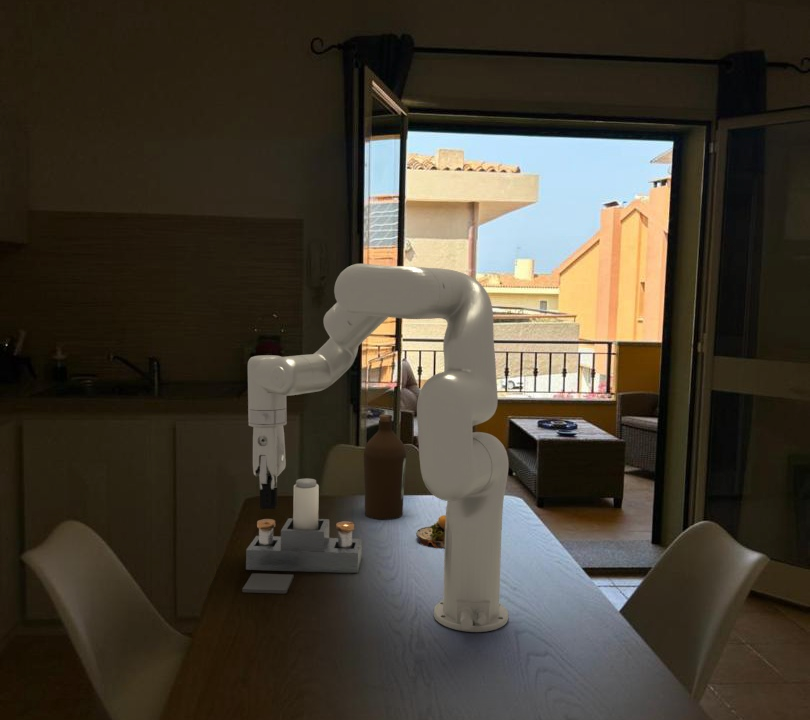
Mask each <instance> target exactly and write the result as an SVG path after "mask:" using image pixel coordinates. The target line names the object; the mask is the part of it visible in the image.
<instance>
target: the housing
mask: <svg viewBox="0 0 810 720" xmlns="http://www.w3.org/2000/svg"><path fill="white" fill-rule="evenodd" d="M362 541H363V539H362V538H352V549H342V548H338V537H330V519H328V518H318V530H299V529H293V517H292V518H287V520H286V522H285V523H284V525H283V526H282V528H281V530H280V536H278V535H277V536H275V535H273V546H259V535H255V537H254V538H253V540H252V541H251V542H250V544H249V545H248V546H247V547H246V549H245V556H246V557H245V558H246V559H245V570H247V571H272V572H274V571H275V572H276V571H279V572H305V573H306V572H308V573H309V572H311V573H340V574H341V573H343V574H344V573H345V574H348V573H349V574H359V568H360V565H361V561H362V550H363V549H362V547H363V545H362V544H363V543H362Z"/></svg>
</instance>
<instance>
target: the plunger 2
mask: <svg viewBox="0 0 810 720" xmlns="http://www.w3.org/2000/svg"><path fill="white" fill-rule="evenodd" d="M335 530H336V531H337V538H338V548H342V549H352V539H353V531H354V530H355V522H353V521H347V520H344V521H339V522H337V523H336V529H335Z"/></svg>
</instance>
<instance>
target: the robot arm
mask: <svg viewBox="0 0 810 720" xmlns="http://www.w3.org/2000/svg"><path fill="white" fill-rule="evenodd" d="M333 288H334V289H333V293H334V299H335V300H336V303H335V304H333V306H332V307H330V309H329V310H328V311H326V312H325V314H324V316H323V328H324V330H325V331H326V333H327V335H328V336H329V339H327V340H326V342H325V343H323V345H322V346H321V347H320V348H319V349H318V350H316V351H315V352H314V353H313V354H312V353H311V354H300V355H289V356H280V355H272V354H271V355H269V354H266V355H254V356H251V357H250V358H249V359H248V361H247V400H248V401H247V406H248V408H247V411H248V414H247V417H248V426H249V427H252V428H253V429H252V433H253V434H252V471H253V472H252V473H253V475H254V476H255V477H259V479H258V480H259V508H260V509H261V510H275V509H277V508H278V476H280V474H282V472H283V471H284V470H285V469H286V467H287V465H286V464H287V461H286V460H287V459H286V444H285V443H286V441H285V432H284V431H285V430H284V426H286V425H287V424H288V422H287V416H288V415H287V397H288V396H290V397H291V396H295V395H296V396H298V395H303V394H310V393H315V392H317V393H318V392H321V391H323V390H326V389H328V388H329V387H330V386H332V385H333V384H334V383H335V382H337V381H338V380H339V379H340V378H341V377H342V376H343V375H344V374H345V373H346V372H347V371H348V370H349V369H350V368H351V367H352V365H353V364H354V362H355V360H356V357H357V355H358V350H359V346H360V345H361V344H362V343H363V342H365V340H366V339H368V337H369V336H370V335H372V333H374V331H376V329H378V327H380V326H381V325H382V324H383V323H384V322H386V321H387V319H388V318H391V319H392V318H393V319H406V320H434V319H440V320H441V319H442V320H444V321H446V323H447V325H446V329H445V333H444V337H443V344H442V345H443V348H442V349H443V363H444V364H443V366H444V369H443V371H442V372H441V371H440V372H438V373H436V374H434V375H432V376H431V377H430V378H428V379H427V380H426V381H425V382H424V384H423V385H422V387H421V389H420V391H419V394H418V398H417V403H416V404H417V405H416V420H417V436H418V439H417V440H418V455H419V465H420V473H421V477H422V480H423V483H424V485H425V487H426V488H427V490H428V491H429V492H430V493H431V494H432V495H433V497H435V498H437V499H439V500H440V501H444V502H445V501H447V502H446V509H445V515H446V520H445V547H444V552H443V553H444V555H443V556H444V557H443V558H444V561H443V594H442V595H443V598H442V600H441V601H439V602H438V603H437V604H435V605H434V608H433V616H434V617H433V618H434V619H435V620H436V621H437V622H438V624H441V625H442V626H444V627H446V628H449V629H452V630H455V631H460V632H468V633H469V632H470V633H482V632H483V633H484V632H485V633H486V632H491V631H495V630H498V629H500V628H503V626H505V625H507V622H508V620H509V611H508V610H507V608H506V607H505V606H504V605H502V604H501V603H500V592H501V589H500V588H501V587H500V586H501V584H500V583H501V557H502V556H501V554H502V529H503V512H504V511H503V509H504V499H505V492H506V487H507V483H508V482H507V481H508V476H509V464H510V463H509V456H508V452H507V450H506V447H505V446H504V444H503V443H502V442H501V440H499V439H498V437H496V436H494V434H493V435H492V434H490V433H487V432H480V431H475V432H473V431H474V430H473V427H474V426H477V425H481V424H483V423H485V422H487V421H489V420H490V419H491V418H492V417H493V416H494V415H495V413H496V410H497V408H498V400H499V399H498V383H497V366H496V363H497V362H496V352H495V340H494V336H495V335H494V312H493V306H492V305H493V304H492V300H491V298H490V296H489V293H488V291H487V290H486V289H485V287H484V286H483V285H482V284H481V283H480V282H479V281H478V280H477V279H475V278H474V277H472V276H470V275H468V274H466V273H465V272H460V271H458V270H455V269H454V270H453V269H447V268H441V267H440V268H437V267H435V268H434V267H422V266H421V267H420V266H407V265H406V266H404V265H383V264H380V265H379V264H370V263H355V264H352V265H350V266H347V267H346V268H345V269H343V270H342V271H341V272H340V273H339V275H338V276H337V278H336V281H335V284H334V287H333Z"/></svg>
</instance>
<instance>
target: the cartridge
mask: <svg viewBox="0 0 810 720" xmlns="http://www.w3.org/2000/svg"><path fill="white" fill-rule="evenodd" d="M319 489H320V486H319V484H318V483H317V480H316V479H314V478H299V479H296V480H295V484H294V485H293V504H292V505H293V507H292V509H293V514H292V518H293V529H299V530H318V519H319V498H320V497H319V496H320V495H319V492H320V491H319Z"/></svg>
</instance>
